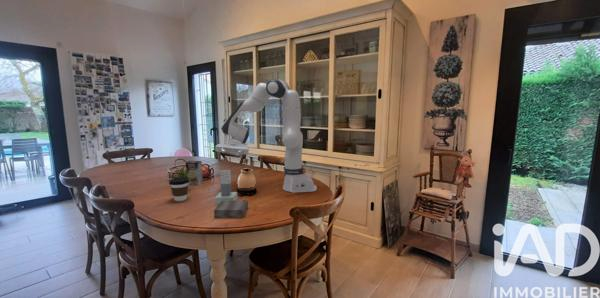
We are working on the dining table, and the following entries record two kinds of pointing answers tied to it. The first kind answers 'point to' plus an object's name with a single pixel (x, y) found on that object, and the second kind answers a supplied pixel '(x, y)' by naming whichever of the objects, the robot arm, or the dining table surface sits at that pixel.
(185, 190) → the coffee cup
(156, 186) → the dining table surface
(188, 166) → the coffee box
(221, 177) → the housing
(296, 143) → the robot arm
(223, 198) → the stand
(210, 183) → the dining table surface
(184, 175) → the house plant
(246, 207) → the stand
